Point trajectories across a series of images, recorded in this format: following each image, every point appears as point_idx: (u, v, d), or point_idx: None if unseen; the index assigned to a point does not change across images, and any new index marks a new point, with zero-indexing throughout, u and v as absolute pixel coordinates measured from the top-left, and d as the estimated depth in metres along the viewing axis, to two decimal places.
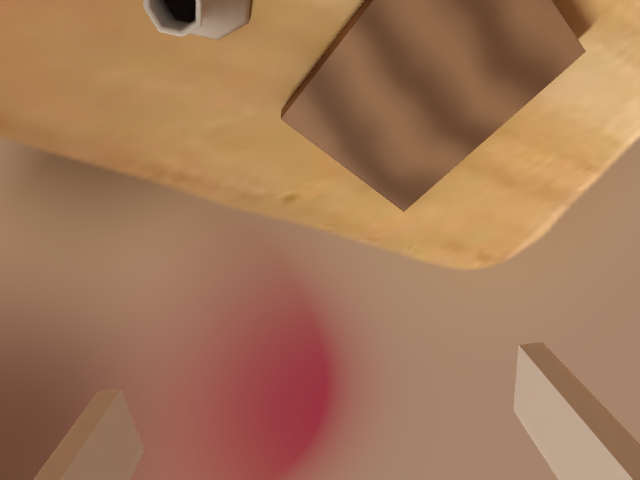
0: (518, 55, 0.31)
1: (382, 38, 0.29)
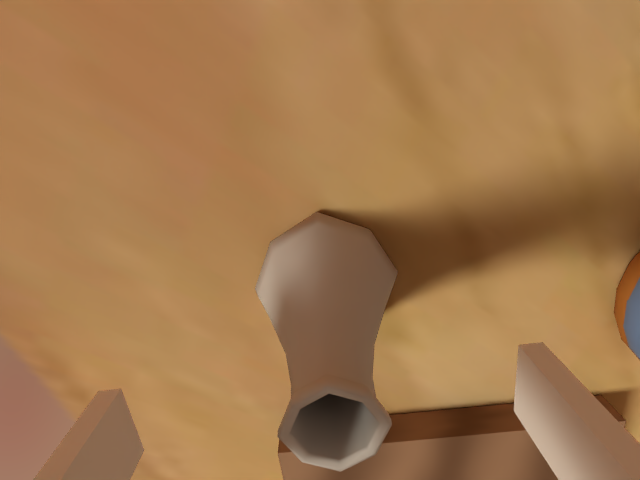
0: None
1: (449, 466, 0.23)
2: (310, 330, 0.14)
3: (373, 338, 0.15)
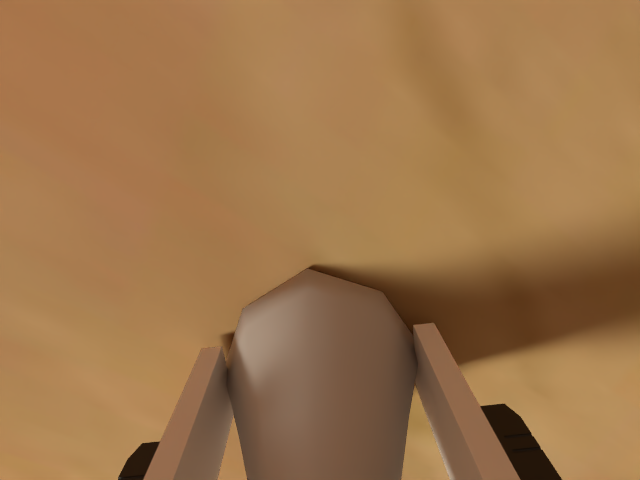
0: None
1: None
2: None
3: None
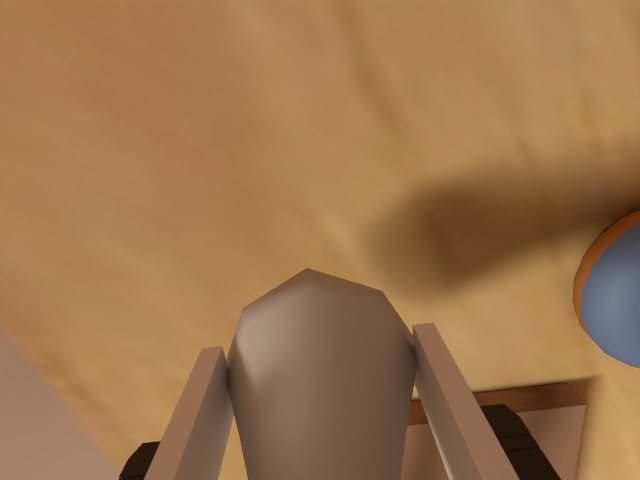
0: None
1: (428, 452, 0.24)
2: None
3: None
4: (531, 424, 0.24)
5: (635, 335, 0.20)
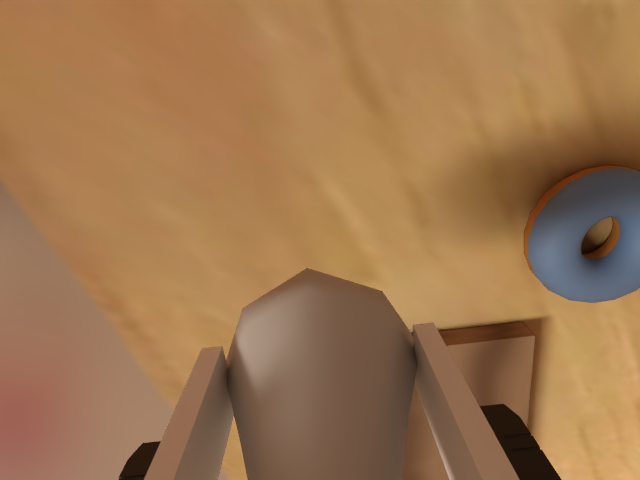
0: None
1: None
2: None
3: None
4: (491, 352, 0.30)
5: (566, 271, 0.26)
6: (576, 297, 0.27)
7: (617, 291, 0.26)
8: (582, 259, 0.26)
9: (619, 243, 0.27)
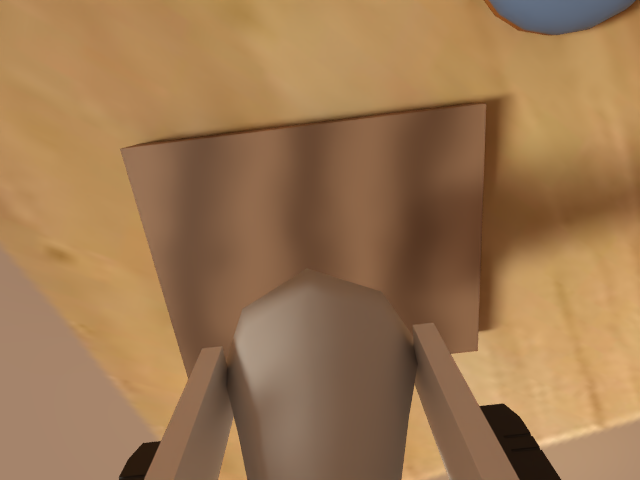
0: (421, 303, 0.24)
1: (307, 170, 0.21)
2: None
3: None
4: (424, 131, 0.21)
5: None
6: (542, 6, 0.18)
7: None
8: None
9: None
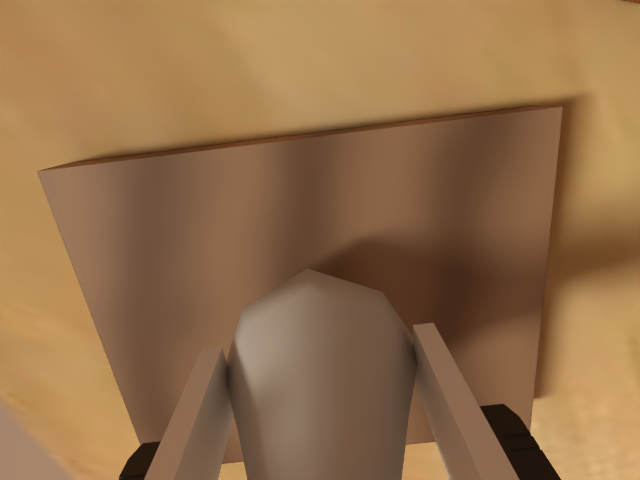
0: None
1: (304, 200, 0.15)
2: None
3: None
4: (471, 146, 0.14)
5: None
6: None
7: None
8: None
9: None
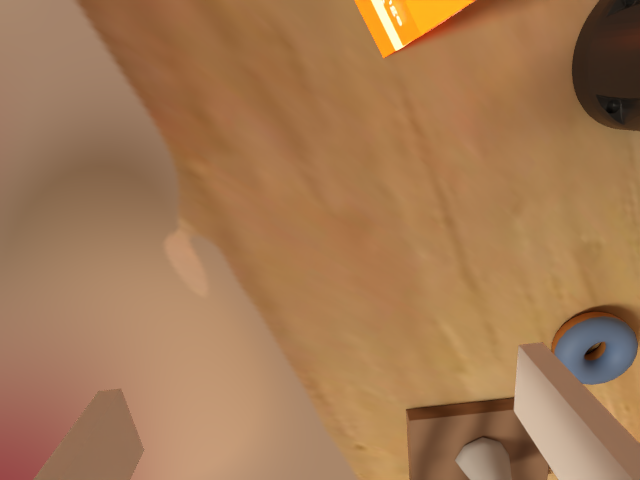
0: (522, 470, 0.55)
1: (482, 426, 0.52)
2: None
3: None
4: None
5: (576, 370, 0.47)
6: (581, 382, 0.48)
7: (603, 380, 0.48)
8: (584, 363, 0.48)
9: (605, 352, 0.49)
